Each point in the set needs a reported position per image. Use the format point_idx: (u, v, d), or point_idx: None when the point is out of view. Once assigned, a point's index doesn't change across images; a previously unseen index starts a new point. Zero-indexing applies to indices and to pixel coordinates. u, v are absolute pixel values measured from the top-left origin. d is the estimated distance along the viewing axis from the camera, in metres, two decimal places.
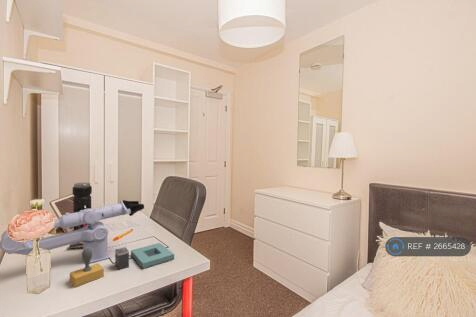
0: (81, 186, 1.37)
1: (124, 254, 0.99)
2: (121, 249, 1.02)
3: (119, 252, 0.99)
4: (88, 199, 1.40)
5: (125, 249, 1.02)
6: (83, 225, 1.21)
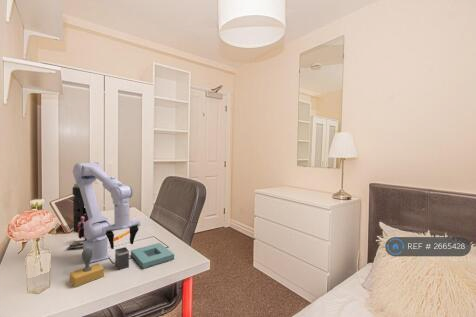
0: None
1: (124, 254, 0.99)
2: (121, 249, 1.02)
3: (119, 252, 0.99)
4: None
5: (125, 249, 1.02)
6: (83, 225, 1.21)
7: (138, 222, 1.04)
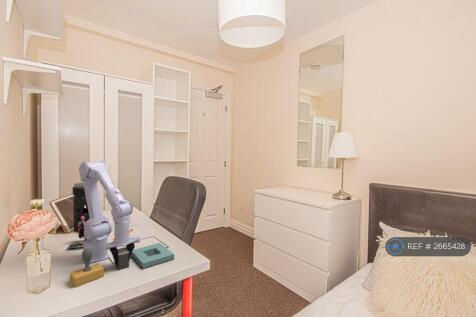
0: (81, 186, 1.37)
1: (124, 254, 0.99)
2: (121, 249, 1.02)
3: (119, 252, 0.99)
4: None
5: (125, 249, 1.02)
6: (83, 225, 1.21)
7: (138, 238, 1.04)
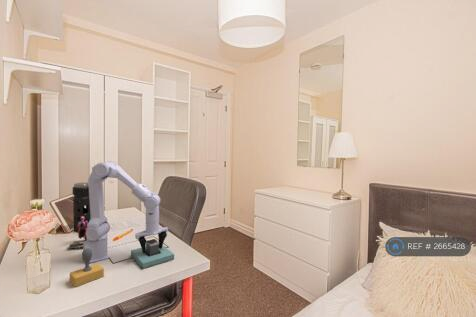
0: (81, 186, 1.37)
1: (155, 245, 1.08)
2: (151, 240, 1.10)
3: (150, 243, 1.07)
4: (88, 199, 1.40)
5: (155, 240, 1.10)
6: (83, 225, 1.21)
7: (166, 228, 1.13)
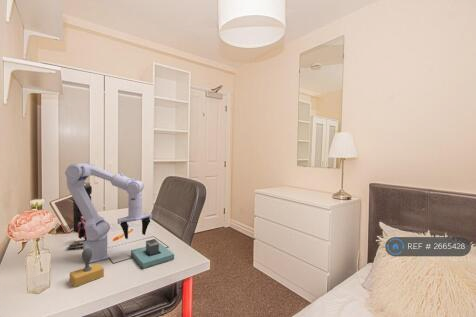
0: None
1: (155, 245, 1.08)
2: (151, 240, 1.10)
3: (150, 243, 1.07)
4: None
5: (155, 240, 1.10)
6: (83, 225, 1.21)
7: (150, 214, 1.12)
